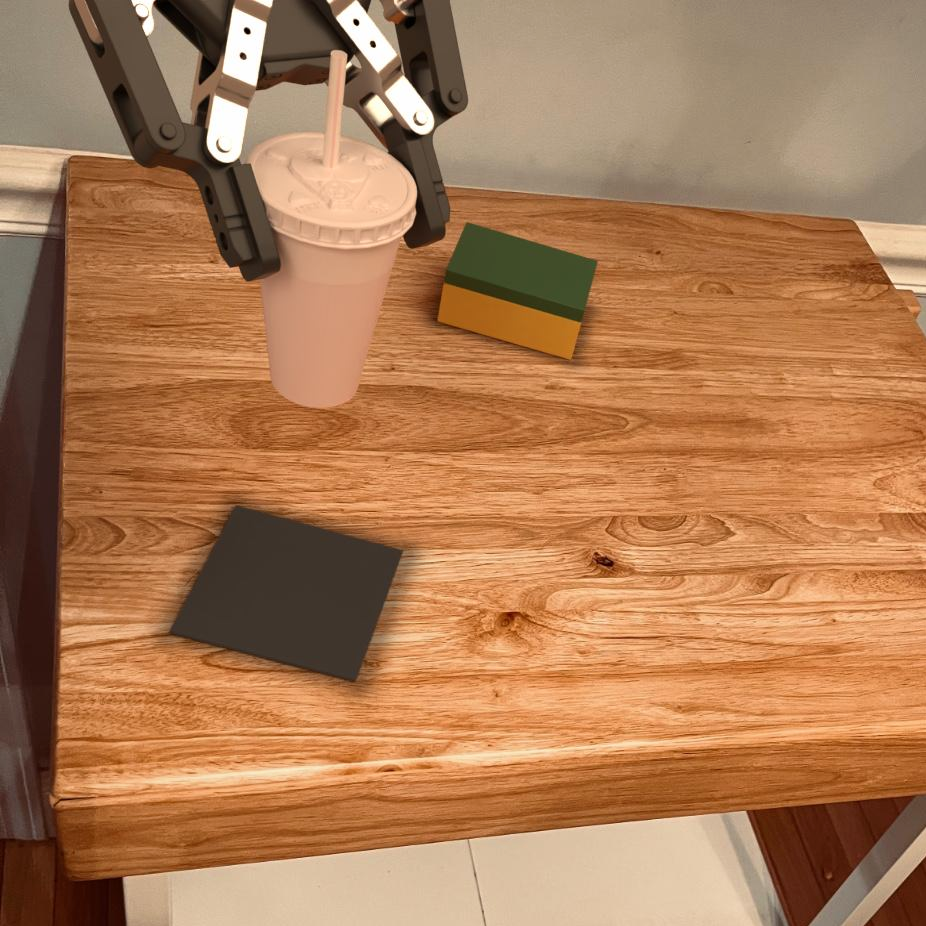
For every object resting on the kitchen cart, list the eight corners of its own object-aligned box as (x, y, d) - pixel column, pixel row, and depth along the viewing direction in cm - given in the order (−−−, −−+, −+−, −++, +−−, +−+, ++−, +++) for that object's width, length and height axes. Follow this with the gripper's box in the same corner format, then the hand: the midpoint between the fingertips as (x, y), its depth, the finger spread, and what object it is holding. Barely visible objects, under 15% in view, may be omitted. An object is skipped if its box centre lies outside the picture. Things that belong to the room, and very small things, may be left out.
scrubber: (437, 321, 77) (445, 269, 74) (457, 272, 81) (466, 221, 78) (570, 360, 78) (584, 310, 75) (584, 309, 82) (598, 260, 79)
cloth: (169, 633, 56) (169, 631, 56) (235, 507, 62) (235, 504, 62) (355, 682, 57) (355, 679, 57) (402, 552, 63) (402, 550, 63)
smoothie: (374, 331, 54) (413, 25, 44) (404, 427, 50) (454, 118, 40) (227, 331, 52) (232, 7, 41) (247, 432, 48) (259, 104, 38)
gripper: (12, -302, 34) (201, 277, 38) (431, -270, 42) (554, 207, 46) (-31, -175, 40) (136, 314, 44) (343, -168, 48) (458, 247, 52)
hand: (349, 258), depth 45 cm, fingers closed on smoothie, 6 cm apart
